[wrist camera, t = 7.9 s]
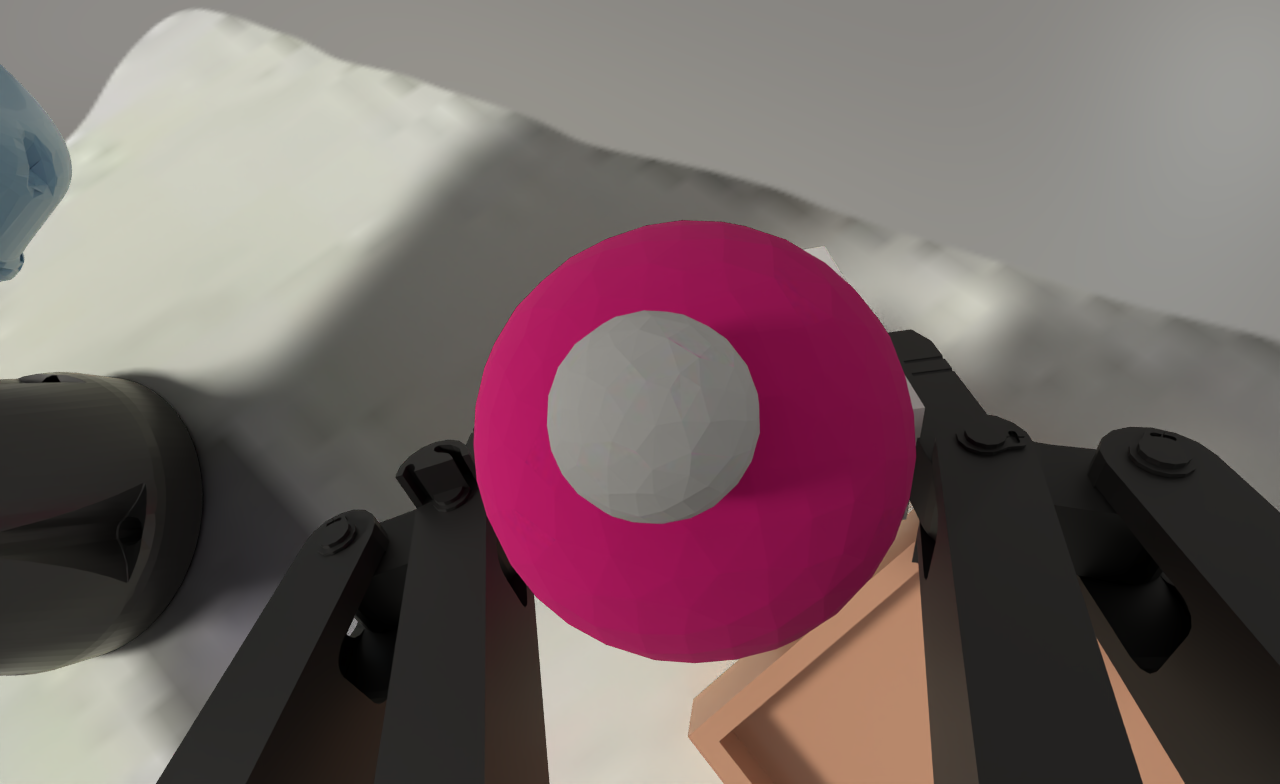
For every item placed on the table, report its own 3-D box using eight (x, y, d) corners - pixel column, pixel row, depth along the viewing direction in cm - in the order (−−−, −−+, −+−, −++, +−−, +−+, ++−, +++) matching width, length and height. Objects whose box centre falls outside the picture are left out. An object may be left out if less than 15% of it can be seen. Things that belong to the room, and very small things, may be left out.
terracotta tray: (693, 699, 22) (688, 736, 19) (975, 455, 21) (1015, 455, 18) (981, 1066, 19) (1028, 1180, 16) (1326, 793, 18) (1442, 859, 15)
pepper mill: (645, 538, 23) (174, 987, 4) (629, 380, 24) (194, 53, 5) (811, 525, 22) (1466, 1075, 2) (787, 360, 23) (1107, -192, 3)
